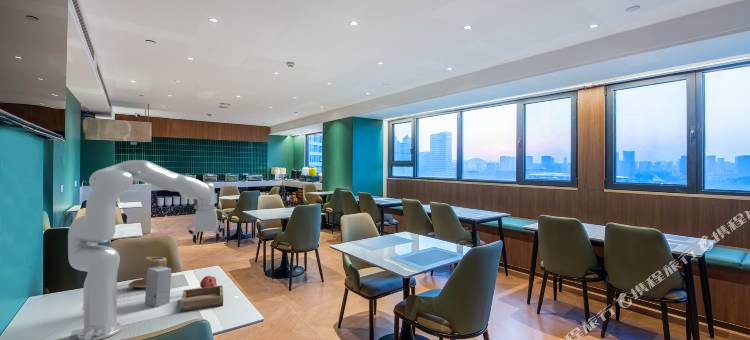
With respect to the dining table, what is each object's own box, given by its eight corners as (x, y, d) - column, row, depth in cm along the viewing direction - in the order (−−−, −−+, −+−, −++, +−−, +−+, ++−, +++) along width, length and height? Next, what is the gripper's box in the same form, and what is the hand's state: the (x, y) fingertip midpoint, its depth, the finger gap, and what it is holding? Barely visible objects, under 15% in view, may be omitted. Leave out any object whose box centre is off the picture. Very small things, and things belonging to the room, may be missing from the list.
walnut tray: (223, 305, 151) (223, 296, 151) (180, 312, 144) (180, 302, 144) (222, 293, 165) (222, 285, 165) (183, 298, 158) (183, 290, 158)
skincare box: (144, 304, 152) (144, 268, 152) (160, 298, 158) (161, 264, 158) (155, 307, 148) (155, 271, 148) (172, 302, 154) (172, 267, 154)
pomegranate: (198, 295, 169) (200, 287, 163) (199, 280, 173) (201, 272, 167) (214, 294, 173) (217, 286, 166) (215, 280, 177) (218, 272, 171)
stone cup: (172, 283, 181) (172, 254, 181) (156, 290, 169) (156, 260, 169) (145, 282, 182) (145, 253, 182) (127, 289, 170) (127, 259, 170)
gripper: (185, 209, 163) (185, 245, 163) (225, 207, 170) (225, 242, 170) (186, 208, 169) (186, 242, 170) (224, 206, 177) (224, 239, 177)
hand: (206, 242), depth 170 cm, fingers open, 9 cm apart
